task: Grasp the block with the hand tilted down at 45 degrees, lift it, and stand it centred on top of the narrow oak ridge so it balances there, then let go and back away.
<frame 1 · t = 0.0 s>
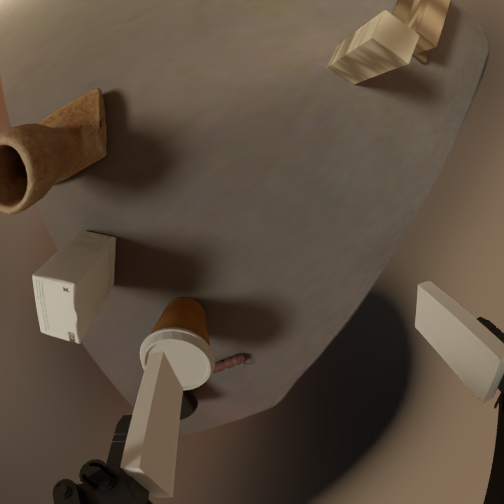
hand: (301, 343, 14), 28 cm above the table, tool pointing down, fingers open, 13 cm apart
disposable coffee cup: (185, 314, 45), on the table
ridge: (415, 18, 30), on the table
tan upright curved piece: (71, 148, 34), on the table
block: (346, 64, 34), on the table
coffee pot: (199, 374, 49), on the table
skincare box: (99, 259, 40), on the table
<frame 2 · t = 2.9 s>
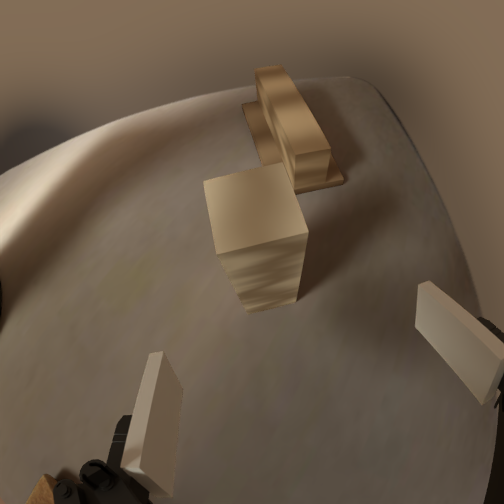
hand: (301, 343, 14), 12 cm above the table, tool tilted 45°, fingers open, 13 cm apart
ridge: (287, 141, 35), on the table
block: (266, 285, 28), on the table
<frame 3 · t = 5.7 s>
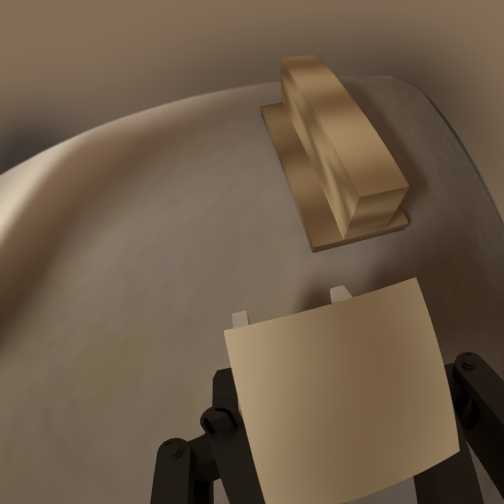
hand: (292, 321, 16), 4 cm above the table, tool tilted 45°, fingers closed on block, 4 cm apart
ridge: (326, 161, 25), on the table
block: (304, 385, 18), on the table, touching gripper
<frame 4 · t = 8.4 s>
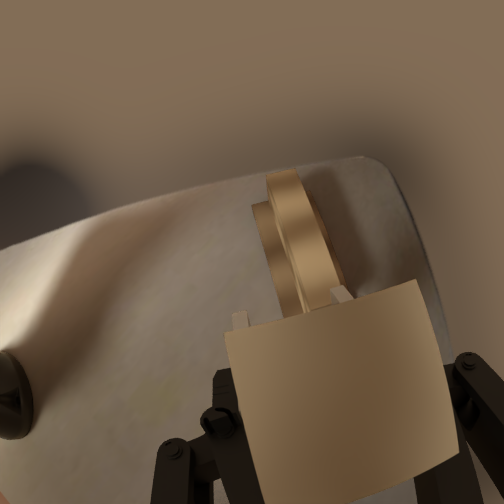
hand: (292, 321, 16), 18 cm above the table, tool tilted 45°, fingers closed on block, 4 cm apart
ridge: (299, 255, 36), on the table
block: (304, 386, 18), point 14 cm above the table, touching gripper
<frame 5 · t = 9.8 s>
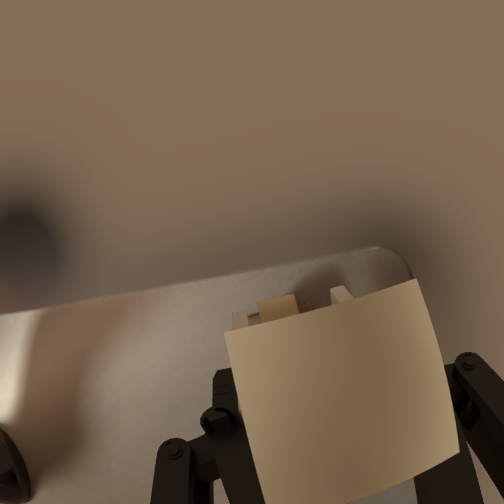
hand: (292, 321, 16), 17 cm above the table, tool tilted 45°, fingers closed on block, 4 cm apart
ridge: (293, 380, 30), on the table
block: (304, 385, 18), point 13 cm above the table, touching gripper
when the fingers open (12 cm above the table, at t = 11.1 s): block drops 1 cm, resting on ridge.
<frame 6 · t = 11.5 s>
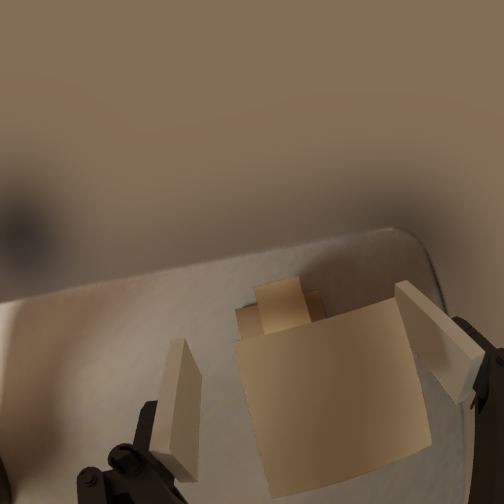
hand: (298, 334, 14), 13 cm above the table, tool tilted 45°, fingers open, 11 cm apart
ridge: (297, 382, 25), on the table
block: (302, 385, 19), point 6 cm above the table, touching ridge
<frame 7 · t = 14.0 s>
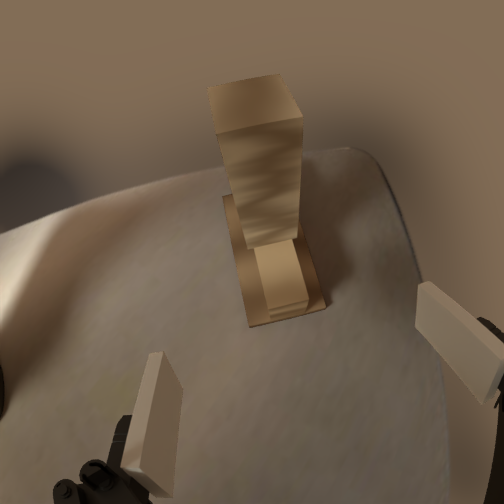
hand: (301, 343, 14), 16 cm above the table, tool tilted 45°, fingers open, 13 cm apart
ridge: (270, 250, 34), on the table
block: (266, 222, 28), point 6 cm above the table, touching ridge
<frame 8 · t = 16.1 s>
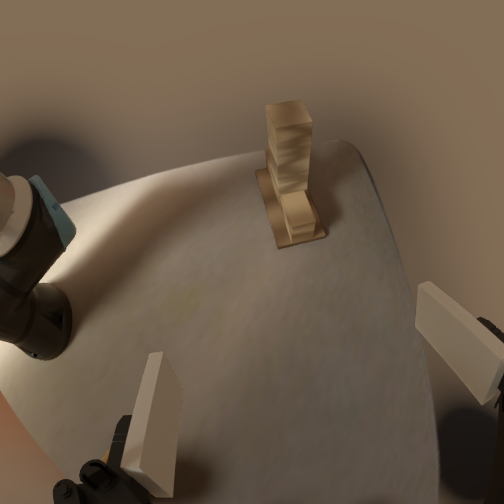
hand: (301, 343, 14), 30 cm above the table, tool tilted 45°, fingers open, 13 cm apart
ridge: (288, 203, 51), on the table
block: (288, 181, 46), point 6 cm above the table, touching ridge
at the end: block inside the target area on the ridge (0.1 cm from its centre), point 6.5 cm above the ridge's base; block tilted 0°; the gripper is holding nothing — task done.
